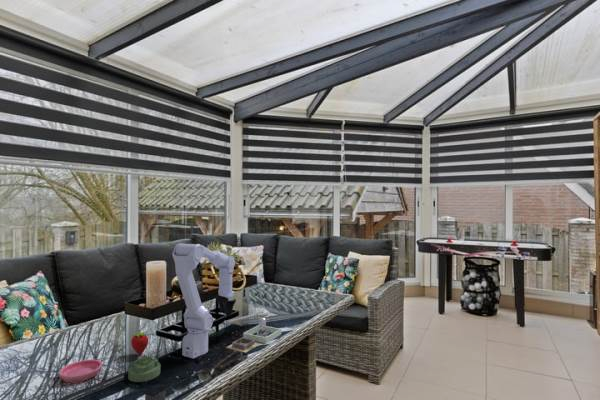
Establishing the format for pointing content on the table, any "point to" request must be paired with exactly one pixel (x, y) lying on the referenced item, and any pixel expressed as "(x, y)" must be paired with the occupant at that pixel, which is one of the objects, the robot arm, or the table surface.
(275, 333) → the bin
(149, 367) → the decorative artifact
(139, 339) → the strawberry
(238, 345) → the socket block
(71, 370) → the saucer
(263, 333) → the strut
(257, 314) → the adjustable wrench
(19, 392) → the table surface
